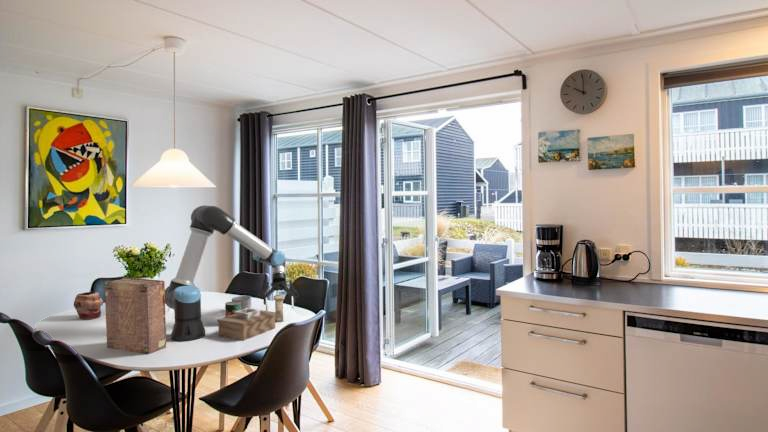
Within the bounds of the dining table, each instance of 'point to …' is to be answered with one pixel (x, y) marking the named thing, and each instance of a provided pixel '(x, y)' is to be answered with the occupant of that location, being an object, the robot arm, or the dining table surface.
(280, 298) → the beech peg
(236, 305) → the canned tomato
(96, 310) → the decorative planter
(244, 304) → the teacup
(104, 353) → the dining table surface
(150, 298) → the brown upright block
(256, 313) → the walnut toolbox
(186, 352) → the dining table surface
